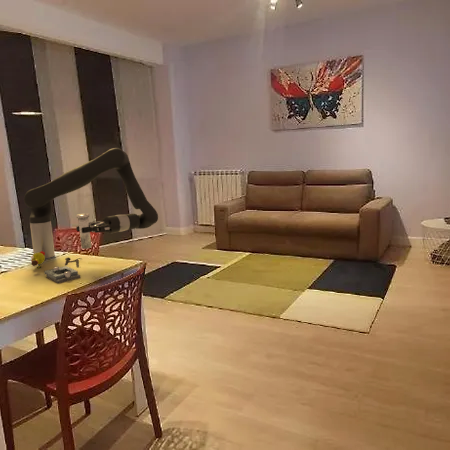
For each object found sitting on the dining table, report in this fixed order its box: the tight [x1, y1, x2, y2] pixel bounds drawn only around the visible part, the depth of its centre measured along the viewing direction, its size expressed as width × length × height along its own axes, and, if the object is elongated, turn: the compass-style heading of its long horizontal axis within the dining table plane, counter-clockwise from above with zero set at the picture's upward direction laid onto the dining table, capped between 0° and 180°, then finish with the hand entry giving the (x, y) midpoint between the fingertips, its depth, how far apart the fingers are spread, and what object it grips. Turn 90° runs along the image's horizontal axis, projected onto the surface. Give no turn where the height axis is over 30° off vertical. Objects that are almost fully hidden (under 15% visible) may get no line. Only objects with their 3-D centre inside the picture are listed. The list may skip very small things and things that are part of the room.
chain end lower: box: [46, 271, 81, 284], centre depth 163 cm, size 11×9×3 cm
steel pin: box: [76, 213, 92, 250], centre depth 169 cm, size 5×5×14 cm
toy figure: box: [30, 251, 45, 269], centre depth 179 cm, size 18×6×7 cm, turn 13°
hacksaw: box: [64, 257, 83, 269], centre depth 182 cm, size 24×10×2 cm, turn 19°
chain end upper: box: [44, 265, 79, 279], centre depth 165 cm, size 11×9×3 cm
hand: (79, 229), depth 167 cm, fingers closed on steel pin, 4 cm apart
